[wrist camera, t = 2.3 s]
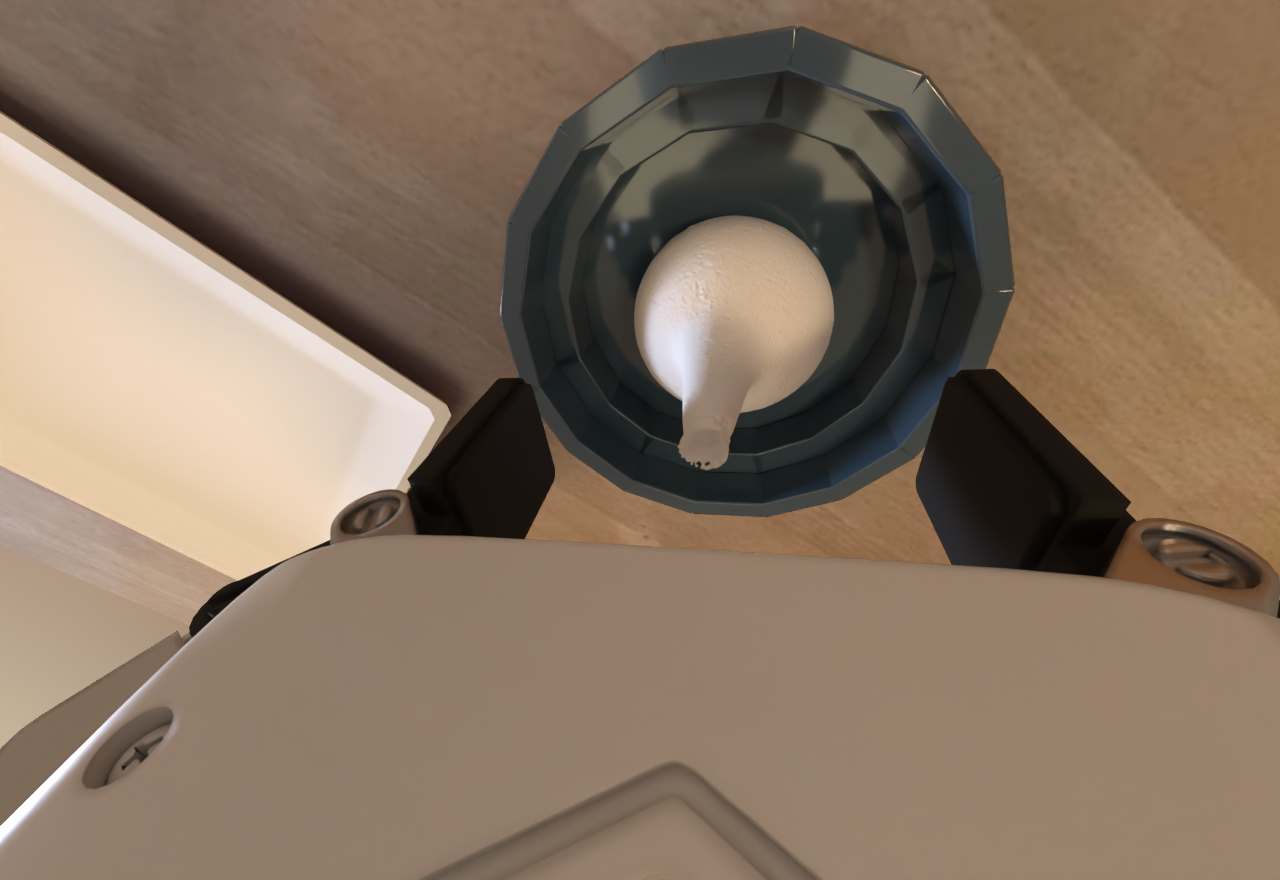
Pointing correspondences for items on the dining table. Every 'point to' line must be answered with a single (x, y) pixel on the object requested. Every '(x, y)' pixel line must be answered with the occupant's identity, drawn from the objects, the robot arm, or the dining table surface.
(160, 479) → the plate
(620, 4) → the dining table surface
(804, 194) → the bowl
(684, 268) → the garlic bulb
